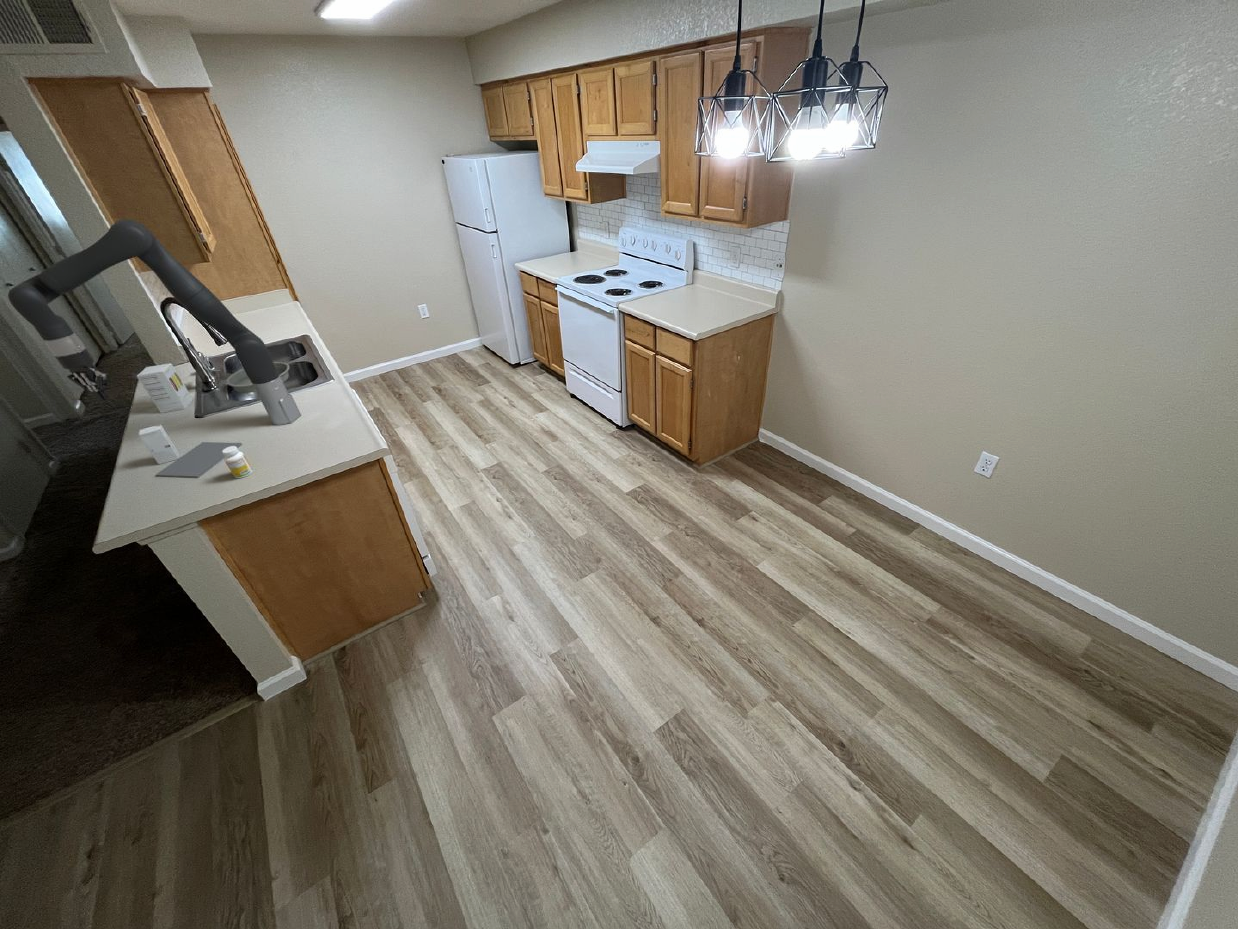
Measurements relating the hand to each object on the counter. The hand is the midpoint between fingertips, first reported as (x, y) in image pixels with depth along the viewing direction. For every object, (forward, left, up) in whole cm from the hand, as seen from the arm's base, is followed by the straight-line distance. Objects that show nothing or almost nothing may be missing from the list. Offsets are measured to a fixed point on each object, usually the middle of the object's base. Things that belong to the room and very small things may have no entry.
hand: (105, 400), depth 166 cm
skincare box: (-9, 0, -23) cm, 25 cm away
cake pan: (+1, -60, -24) cm, 64 cm away
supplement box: (+23, -37, -23) cm, 49 cm away
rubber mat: (-21, 0, -23) cm, 31 cm away
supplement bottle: (-44, +7, -23) cm, 50 cm away
